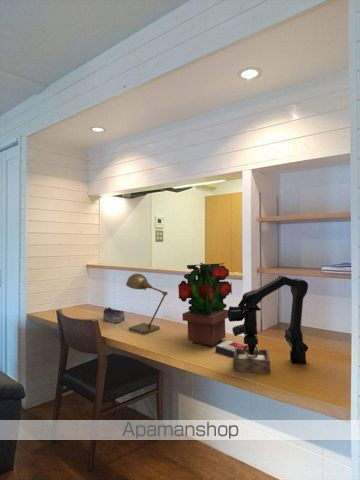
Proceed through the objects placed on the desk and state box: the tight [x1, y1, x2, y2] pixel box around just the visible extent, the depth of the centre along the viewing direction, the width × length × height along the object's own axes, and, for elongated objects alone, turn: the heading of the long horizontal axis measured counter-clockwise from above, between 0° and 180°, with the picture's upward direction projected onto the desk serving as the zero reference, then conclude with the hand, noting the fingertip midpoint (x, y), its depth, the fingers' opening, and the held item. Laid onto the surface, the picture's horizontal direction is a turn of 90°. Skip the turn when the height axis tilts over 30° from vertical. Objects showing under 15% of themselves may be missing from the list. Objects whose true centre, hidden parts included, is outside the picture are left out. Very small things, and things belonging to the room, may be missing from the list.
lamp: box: [125, 273, 169, 336], centre depth 213 cm, size 15×34×37 cm, turn 49°
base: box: [232, 348, 271, 374], centre depth 154 cm, size 16×14×6 cm
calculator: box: [215, 340, 249, 358], centre depth 172 cm, size 11×4×15 cm
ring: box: [244, 344, 260, 359], centre depth 154 cm, size 7×3×8 cm, turn 58°
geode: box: [102, 306, 126, 324], centre depth 243 cm, size 20×12×10 cm, turn 53°
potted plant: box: [178, 262, 233, 348], centre depth 188 cm, size 22×22×45 cm
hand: (251, 352), depth 154 cm, fingers closed on ring, 2 cm apart
